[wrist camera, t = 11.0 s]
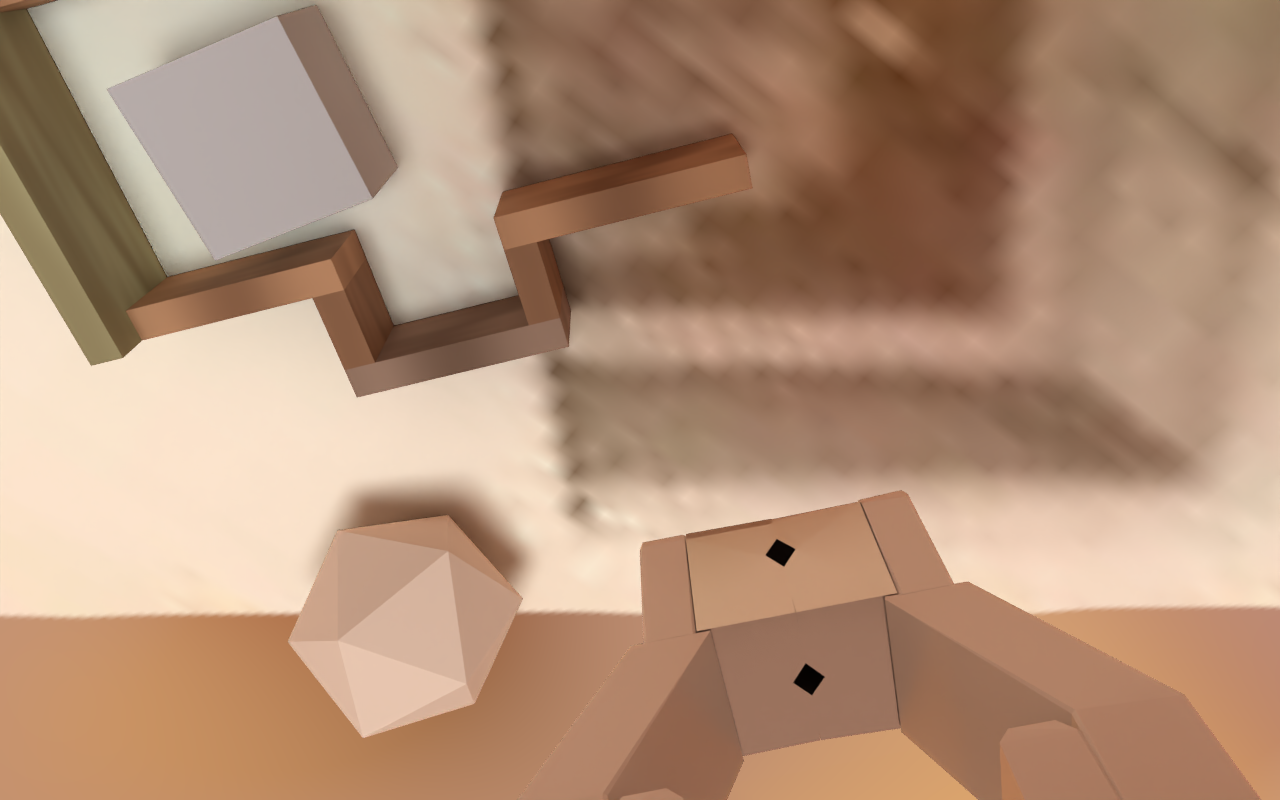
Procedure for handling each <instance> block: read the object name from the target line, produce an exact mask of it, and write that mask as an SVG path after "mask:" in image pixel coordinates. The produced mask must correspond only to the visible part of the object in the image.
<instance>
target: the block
mask: <svg viewBox="0 0 1280 800" xmlns="http://www.w3.org/2000/svg"><path fill="white" fill-rule="evenodd" d="M107 91H108V92H109V94H110V95H111V97H112V99H113V100H114V102H115V103H116V105H117V106H118V108H119V110H120V111H121V113H122V114H123V116H124V117H125V119H126V121H127V122H128V124H129V125H130V127H131V129H132V130H133V132H134V133H135V135H136V136H137V138H138V140H139V141H140V143H141V144H142V146H143V147H144V149H145V151H146V152H147V154H148V155H149V157H150V159H151V160H152V162H153V163H154V165H155V166H156V168H157V170H158V171H159V173H160V174H161V176H162V177H163V179H164V181H165V182H166V184H167V185H168V187H169V189H170V190H171V192H172V193H173V195H174V196H175V198H176V200H177V201H178V203H179V204H180V206H181V207H182V209H183V211H184V212H185V214H186V215H187V217H188V218H189V220H190V222H191V223H192V225H193V226H194V228H195V230H196V231H197V233H198V234H199V236H200V237H201V239H202V241H203V242H204V244H205V245H206V247H207V248H208V250H209V252H210V253H211V255H212V256H213V258H214V260H215V261H216V260H218V259H221V258H223V257H226V256H228V255H231V254H234V253H236V252H239V251H241V250H244V249H246V248H249V247H251V246H254V245H256V244H259V243H261V242H264V241H266V240H269V239H272V238H274V237H277V236H279V235H282V234H284V233H287V232H289V231H292V230H294V229H297V228H299V227H302V226H304V225H307V224H310V223H312V222H315V221H317V220H320V219H322V218H325V217H327V216H330V215H332V214H335V213H337V212H340V211H342V210H345V209H348V208H350V207H353V206H355V205H358V204H360V203H363V202H365V201H368V200H370V199H373V198H374V196H375V195H376V194H377V193H378V191H379V190H380V189H381V188H382V186H383V185H384V184H385V183H386V182H387V180H388V179H389V178H390V177H391V175H392V174H393V173H394V172H395V171H396V169H397V168H398V167H397V165H396V163H395V161H394V159H393V157H392V155H391V153H390V151H389V149H388V147H387V145H386V143H385V141H384V139H383V137H382V135H381V133H380V131H379V129H378V127H377V125H376V123H375V121H374V119H373V117H372V115H371V113H370V111H369V109H368V107H367V105H366V103H365V101H364V99H363V97H362V95H361V93H360V91H359V89H358V87H357V85H356V83H355V81H354V79H353V77H352V75H351V73H350V71H349V69H348V67H347V65H346V63H345V61H344V59H343V57H342V55H341V53H340V51H339V49H338V47H337V45H336V43H335V41H334V39H333V37H332V35H331V33H330V31H329V29H328V27H327V25H326V23H325V21H324V19H323V17H322V15H321V13H320V11H319V9H318V7H317V5H314V6H311V7H307V8H304V9H300V10H297V11H293V12H289V13H286V14H282V15H279V16H276V17H273V18H271V19H269V20H266V21H264V22H262V23H259V24H257V25H255V26H253V27H250V28H248V29H246V30H243V31H241V32H239V33H236V34H234V35H232V36H229V37H227V38H225V39H222V40H220V41H218V42H215V43H213V44H211V45H208V46H206V47H204V48H201V49H199V50H197V51H194V52H192V53H190V54H187V55H185V56H183V57H180V58H178V59H176V60H173V61H171V62H169V63H166V64H164V65H162V66H159V67H157V68H155V69H153V70H150V71H148V72H146V73H143V74H141V75H139V76H136V77H134V78H132V79H129V80H127V81H125V82H122V83H120V84H118V85H115V86H113V87H111V88H108V89H107Z"/></svg>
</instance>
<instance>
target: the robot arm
mask: <svg viewBox="0 0 1280 800" xmlns="http://www.w3.org/2000/svg"><path fill="white" fill-rule="evenodd" d="M640 565H641V591H642V617H643V642H644V643H642V644H637V645H633V646H630V647H629V649H628V650H627V652H626V653H625V654H624V656H623V657H622V659H621V660H620V661H619V663H618V664H617V665H616V666H615V668H614V669H613V671H612V672H611V673H610V675H609V676H608V677H607V679H606V680H605V681H604V683H603V684H602V685H601V687H600V688H599V690H598V691H597V692H596V694H595V695H594V696H593V698H592V699H591V700H590V702H589V703H588V704H587V706H586V707H585V708H584V710H583V711H582V712H581V714H580V715H579V717H578V718H577V719H576V721H575V722H574V723H573V725H572V726H571V728H570V729H569V730H568V732H567V733H566V734H565V736H564V737H563V738H562V740H561V741H560V742H559V744H558V745H557V746H556V748H555V749H554V750H553V752H552V753H551V754H550V756H549V757H548V759H547V760H546V761H545V763H544V764H543V765H542V767H541V768H540V770H539V771H538V772H537V773H536V775H535V776H534V778H533V779H532V780H531V781H530V783H529V784H528V786H527V787H526V788H525V790H524V791H523V792H522V794H521V795H520V797H519V798H518V799H517V800H727V799H728V796H729V794H730V792H731V789H732V787H733V785H734V782H735V780H736V778H737V775H738V773H739V771H740V768H741V766H742V764H743V761H744V760H743V756H745V755H750V754H755V753H760V752H765V751H770V750H775V749H780V748H784V747H789V746H794V745H799V744H804V743H808V742H814V741H818V740H820V739H821V740H825V739H831V738H838V737H845V736H852V735H858V734H865V733H872V732H878V731H884V730H891V729H898V728H901V732H902V733H903V734H904V735H906V736H907V737H908V738H909V739H910V740H911V741H912V742H913V743H915V744H916V745H917V746H918V747H919V748H920V749H921V750H923V751H924V752H925V753H926V754H927V755H928V756H929V757H930V758H932V759H933V760H934V761H935V762H936V763H937V764H938V765H940V766H941V767H942V768H943V769H944V770H945V771H946V772H948V773H949V774H950V775H951V776H952V777H953V778H954V779H956V780H957V781H958V782H959V783H960V784H961V785H963V786H964V787H965V788H966V789H967V790H968V791H969V792H970V793H971V794H972V795H974V796H975V797H976V798H977V799H978V800H1261V799H1260V797H1259V796H1258V795H1257V793H1256V792H1255V790H1254V789H1253V788H1252V787H1251V785H1250V784H1249V782H1248V781H1247V780H1246V778H1245V777H1244V775H1243V774H1242V773H1241V771H1240V770H1239V768H1238V767H1237V766H1236V765H1235V763H1234V762H1233V760H1232V759H1231V758H1230V756H1229V755H1228V753H1227V752H1226V751H1225V749H1224V748H1223V747H1222V745H1221V744H1220V743H1219V741H1218V740H1217V738H1216V737H1215V736H1214V734H1213V733H1212V732H1211V730H1210V729H1209V728H1208V726H1207V725H1206V724H1205V722H1204V721H1203V719H1202V718H1201V717H1200V715H1199V714H1198V712H1197V711H1196V710H1195V708H1194V707H1193V706H1192V704H1191V703H1190V702H1189V700H1188V699H1187V697H1186V696H1185V695H1184V694H1182V693H1180V692H1178V691H1176V690H1174V689H1173V688H1171V687H1169V686H1167V685H1165V684H1163V683H1161V682H1159V681H1157V680H1155V679H1154V678H1152V677H1150V676H1148V675H1146V674H1144V673H1142V672H1140V671H1138V670H1136V669H1134V668H1132V667H1131V666H1129V665H1126V664H1125V663H1123V662H1121V661H1119V660H1117V659H1115V658H1113V657H1111V656H1109V655H1108V654H1106V653H1103V652H1102V651H1100V650H1098V649H1096V648H1094V647H1092V646H1090V645H1088V644H1086V643H1085V642H1083V641H1081V640H1079V639H1077V638H1075V637H1073V636H1071V635H1069V634H1067V633H1065V632H1063V631H1062V630H1060V629H1058V628H1056V627H1054V626H1052V625H1050V624H1048V623H1046V622H1044V621H1042V620H1041V619H1039V618H1037V617H1035V616H1033V615H1031V614H1029V613H1027V612H1025V611H1023V610H1021V609H1019V608H1018V607H1016V606H1014V605H1012V604H1010V603H1008V602H1006V601H1004V600H1002V599H1000V598H998V597H996V596H995V595H993V594H991V593H989V592H987V591H985V590H983V589H981V588H979V587H977V586H975V585H973V584H972V583H970V582H963V583H957V584H954V583H953V581H952V579H951V577H950V575H949V573H948V571H947V569H946V567H945V565H944V564H943V562H942V560H941V558H940V556H939V554H938V552H937V550H936V548H935V546H934V544H933V542H932V540H931V538H930V536H929V534H928V533H927V531H926V529H925V527H924V525H923V523H922V521H921V519H920V517H919V515H918V513H917V511H916V509H915V507H914V505H913V503H912V501H911V500H910V498H909V496H908V494H907V493H905V492H904V491H902V490H900V491H896V492H892V493H887V494H883V495H879V496H874V497H870V498H865V499H861V500H858V502H855V503H850V504H845V505H840V506H835V507H830V508H825V509H820V510H815V511H811V512H806V513H801V514H796V515H791V516H786V517H781V518H776V519H768V520H762V521H756V522H751V523H745V524H740V525H734V526H728V527H723V528H717V529H712V530H706V531H700V532H695V533H689V534H686V536H684V535H680V536H674V537H669V538H664V539H659V540H654V541H648V542H643V543H642V546H641V549H640ZM819 735H820V736H819Z"/></svg>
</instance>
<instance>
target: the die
mask: <svg viewBox="0 0 1280 800" xmlns="http://www.w3.org/2000/svg"><path fill="white" fill-rule="evenodd" d="M522 599H523V598H522V597H521V596H520V595H519V594H518V593H517V592H516V590H515V589H514V588H513V587H512V586H511V585H510V584H509V583H508V582H507V580H506V579H505V578H504V577H503V576H502V575H501V574H500V573H499V571H498V570H497V569H496V568H495V567H494V566H493V565H492V564H491V562H490V561H489V560H488V559H487V558H486V557H485V556H484V555H483V553H482V552H481V551H480V550H479V549H478V548H477V547H476V546H475V544H474V543H473V542H472V541H471V540H470V539H469V538H468V537H467V536H466V534H465V533H464V532H463V531H462V530H461V529H460V528H459V527H458V525H457V524H456V523H455V522H454V521H453V520H452V519H451V518H450V516H449V515H444V516H437V517H430V518H423V519H415V520H408V521H401V522H394V523H387V524H380V525H373V526H366V527H358V528H351V529H344V530H338V531H337V533H336V535H335V537H334V540H333V542H332V544H331V546H330V548H329V551H328V553H327V555H326V557H325V560H324V562H323V564H322V566H321V569H320V571H319V573H318V575H317V578H316V580H315V582H314V584H313V586H312V589H311V591H310V593H309V595H308V598H307V600H306V602H305V604H304V607H303V609H302V611H301V613H300V616H299V618H298V620H297V622H296V625H295V627H294V629H293V631H292V633H291V636H290V638H289V640H288V643H289V644H290V645H291V646H292V648H293V649H294V650H295V652H296V653H297V654H298V656H299V657H300V658H301V659H302V660H303V662H304V663H305V664H306V666H307V667H308V668H309V669H310V671H311V672H312V673H313V675H314V676H315V677H316V679H317V680H318V681H319V682H320V684H321V685H322V686H323V687H324V688H325V690H326V691H327V693H328V694H329V695H330V696H331V698H332V699H333V700H334V701H335V703H336V704H337V705H338V707H339V708H340V709H341V710H342V712H343V713H344V714H345V715H346V717H347V718H348V719H349V721H350V722H351V723H352V724H353V726H354V727H355V728H356V730H357V731H358V732H359V733H360V735H361V736H362V737H363V738H364V737H368V736H370V735H374V734H377V733H380V732H384V731H387V730H390V729H394V728H397V727H399V726H403V725H407V724H410V723H413V722H416V721H419V720H423V719H426V718H429V717H432V716H436V715H439V714H442V713H445V712H449V711H452V710H455V709H458V708H461V707H465V706H468V705H471V704H474V703H475V701H476V699H477V697H478V695H479V693H480V690H481V688H482V686H483V684H484V682H485V680H486V677H487V675H488V673H489V671H490V669H491V667H492V664H493V662H494V660H495V658H496V656H497V653H498V651H499V649H500V647H501V645H502V643H503V641H504V638H505V636H506V634H507V632H508V630H509V627H510V625H511V623H512V621H513V619H514V617H515V615H516V612H517V610H518V608H519V606H520V604H521V602H522Z"/></svg>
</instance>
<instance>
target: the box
mask: <svg viewBox="0 0 1280 800" xmlns="http://www.w3.org/2000/svg"><path fill="white" fill-rule="evenodd" d="M53 1H56V0H0V214H1V216H2V217H3V219H4V221H5V222H6V224H7V226H8V227H9V229H10V231H11V232H12V234H13V236H14V237H15V239H16V241H17V242H18V244H19V246H20V247H21V249H22V251H23V252H24V254H25V256H26V258H27V259H28V261H29V263H30V264H31V266H32V268H33V269H34V271H35V273H36V274H37V276H38V278H39V279H40V281H41V283H42V284H43V286H44V288H45V289H46V291H47V293H48V294H49V296H50V298H51V299H52V301H53V303H54V304H55V306H56V308H57V309H58V311H59V313H60V314H61V316H62V318H63V319H64V321H65V323H66V324H67V326H68V328H69V329H70V331H71V333H72V334H73V336H74V338H75V339H76V341H77V343H78V345H79V346H80V348H81V350H82V351H83V353H84V355H85V356H86V358H87V360H88V361H89V363H90V365H91V366H92V365H96V364H100V363H104V362H108V361H112V360H116V359H120V358H123V357H124V356H125V355H127V354H128V353H129V352H130V351H131V350H132V349H133V348H134V347H135V346H136V345H138V344H139V343H140V342H141V341H142V340H146V339H150V338H154V337H158V336H162V335H166V334H170V333H174V332H178V331H182V330H186V329H190V328H194V327H198V326H202V325H206V324H210V323H214V322H218V321H222V320H226V319H230V318H234V317H238V316H242V315H246V314H250V313H254V312H258V311H262V310H266V309H270V308H274V307H278V306H282V305H286V304H290V303H294V302H298V301H302V300H306V299H310V298H313V300H314V302H315V305H316V307H317V309H318V311H319V314H320V316H321V318H322V320H323V322H324V325H325V327H326V329H327V331H328V334H329V336H330V338H331V340H332V343H333V345H334V347H335V349H336V352H337V354H338V356H339V358H340V361H341V363H342V365H343V367H344V369H345V372H346V374H347V376H348V378H349V381H350V383H351V385H352V387H353V390H354V392H355V394H356V396H357V397H361V396H365V395H369V394H373V393H377V392H382V391H386V390H390V389H394V388H398V387H402V386H407V385H411V384H415V383H419V382H423V381H427V380H432V379H436V378H440V377H444V376H448V375H452V374H456V373H461V372H465V371H469V370H473V369H477V368H481V367H486V366H490V365H494V364H498V363H502V362H506V361H511V360H515V359H519V358H523V357H527V356H531V355H536V354H540V353H544V352H548V351H552V350H556V349H560V348H565V347H569V334H570V317H571V310H570V307H569V303H568V300H567V297H566V293H565V290H564V287H563V283H562V280H561V277H560V273H559V270H558V267H557V263H556V260H555V257H554V253H553V250H552V247H551V243H550V240H549V239H551V238H555V237H559V236H563V235H567V234H571V233H575V232H579V231H583V230H587V229H591V228H595V227H599V226H603V225H607V224H611V223H615V222H619V221H623V220H627V219H631V218H635V217H639V216H643V215H647V214H651V213H655V212H659V211H663V210H667V209H671V208H675V207H679V206H683V205H687V204H691V203H695V202H699V201H703V200H707V199H711V198H715V197H719V196H723V195H727V194H731V193H735V192H739V191H743V190H747V189H751V188H752V183H751V178H750V172H749V167H748V161H747V156H746V153H745V152H744V150H743V149H742V147H741V146H740V144H739V143H738V141H737V140H736V139H735V137H734V136H733V134H728V135H724V136H721V137H717V138H713V139H709V140H705V141H701V142H697V143H693V144H689V145H685V146H681V147H677V148H673V149H669V150H665V151H662V152H658V153H654V154H650V155H646V156H642V157H638V158H634V159H630V160H626V161H622V162H618V163H614V164H610V165H607V166H603V167H599V168H595V169H591V170H587V171H583V172H579V173H575V174H571V175H567V176H563V177H559V178H555V179H551V180H548V181H544V182H540V183H536V184H532V185H528V186H524V187H520V188H516V189H512V190H508V191H504V192H502V195H501V198H500V201H499V204H498V207H497V210H496V213H495V216H494V221H495V224H496V227H497V230H498V233H499V236H500V239H501V242H502V245H503V248H504V251H505V254H506V257H507V260H508V263H509V267H510V270H511V273H512V276H513V279H514V282H515V285H516V288H517V291H518V294H519V295H518V296H514V297H510V298H506V299H502V300H498V301H494V302H490V303H486V304H482V305H478V306H474V307H469V308H465V309H461V310H457V311H453V312H449V313H445V314H441V315H437V316H433V317H429V318H425V319H421V320H416V321H412V322H408V323H404V324H400V325H396V326H393V323H392V321H391V318H390V316H389V314H388V311H387V309H386V306H385V304H384V301H383V299H382V296H381V294H380V291H379V289H378V286H377V284H376V282H375V279H374V277H373V274H372V272H371V269H370V267H369V264H368V262H367V259H366V257H365V255H364V252H363V250H362V247H361V245H360V242H359V240H358V237H357V235H356V232H355V230H351V231H347V232H343V233H339V234H335V235H331V236H327V237H323V238H319V239H316V240H312V241H308V242H304V243H300V244H296V245H292V246H288V247H284V248H280V249H276V250H272V251H268V252H264V253H260V254H257V255H253V256H249V257H245V258H241V259H237V260H233V261H229V262H225V263H221V264H217V265H213V266H209V267H205V268H201V269H198V270H194V271H190V272H186V273H182V274H178V275H174V276H170V277H166V275H165V273H164V271H163V269H162V267H161V265H160V263H159V261H158V259H157V258H156V256H155V254H154V252H153V250H152V248H151V246H150V244H149V242H148V240H147V238H146V237H145V235H144V233H143V231H142V229H141V227H140V225H139V223H138V221H137V219H136V217H135V216H134V214H133V212H132V210H131V208H130V206H129V204H128V202H127V200H126V198H125V196H124V195H123V193H122V191H121V189H120V187H119V185H118V183H117V181H116V179H115V177H114V176H113V174H112V172H111V170H110V168H109V166H108V164H107V162H106V160H105V158H104V156H103V155H102V153H101V151H100V149H99V147H98V145H97V143H96V141H95V139H94V137H93V135H92V134H91V132H90V130H89V128H88V126H87V124H86V122H85V120H84V118H83V116H82V114H81V113H80V111H79V109H78V107H77V105H76V103H75V101H74V99H73V97H72V95H71V94H70V92H69V90H68V88H67V86H66V84H65V82H64V80H63V78H62V76H61V74H60V73H59V71H58V69H57V67H56V65H55V63H54V61H53V59H52V57H51V55H50V53H49V52H48V50H47V48H46V46H45V44H44V42H43V40H42V38H41V36H40V34H39V32H38V31H37V29H36V27H35V25H34V23H33V21H32V19H31V17H30V15H29V13H28V12H27V10H26V9H28V8H31V7H35V6H39V5H42V4H46V3H49V2H53Z"/></svg>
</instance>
